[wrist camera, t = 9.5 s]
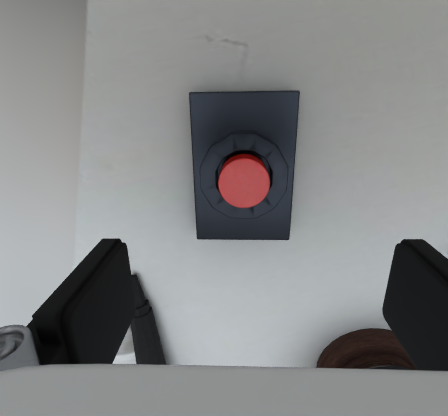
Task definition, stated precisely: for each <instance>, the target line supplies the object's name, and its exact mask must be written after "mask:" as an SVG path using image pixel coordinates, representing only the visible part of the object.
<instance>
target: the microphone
mask: <svg viewBox="0 0 448 416" xmlns="http://www.w3.org/2000/svg"><path fill="white" fill-rule="evenodd" d="M131 277H132V283H133V290H134V297H135V303H136V310H135V315H134V317H133V319H132V322H131V329H132V336H133V343H134V350H135V356H136V363H137V364H144V365H166V361H165V357H164V354H163V350H162V346H161V342H160V338H159V334H158V331H157V327H156V323H155V319H154V315H153V311H152V308H151V307H150V306H149V302H148V300H145V297H144V294H143V291H142V288H141V285H140V283H139V280H138V278H137V275H136V274H134V275H131Z"/></svg>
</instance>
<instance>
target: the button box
mask: <svg viewBox="0 0 448 416" xmlns="http://www.w3.org/2000/svg"><path fill="white" fill-rule="evenodd" d="M299 94H300V92H299V91H233V92H190V93H189V100H190V118H191V137H192V156H193V174H194V193H195V212H196V230H197V239H228V240H289V237H290V222H291V208H292V194H293V180H294V166H295V151H296V137H297V123H298V109H299ZM237 154H251V155H253V156H256V157H257V158H259V159H260V160H261V161H262V162H263V163H264V165H265V167H266V169H267V172H268V175H269V178H270V188H269V191H268V193H267V195H266V197H265V198H264V199H263V200H262V201H261V202H260V203H259V204H257V205H255V206H252V207H248V208H239V207H235V206H233V205H231V204H229V203H228V202H227V201H226V200H225V199H224V198H223V197H222V195H221V193H220V191H219V186H218V180H219V175H220V171H221V168H222V166H223V165H224V163H225V162H226V161H227V160H228V159H229V158H231V157H232V156H234V155H237Z"/></svg>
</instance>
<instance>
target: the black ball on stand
mask: <svg viewBox="0 0 448 416" xmlns="http://www.w3.org/2000/svg"><path fill="white" fill-rule="evenodd" d="M317 368H341V369H386V370H417V369H416V367H415V365H414V364H413V362H412V361H411V359H410V358H409V356H408V355H407V353H406V351H405V350H404V348H403V347H402V345H401V344H400V342H399V341H398V339H397V337H396V336H395V334H394V333H393V331H390V330H385V329H363V330H358V331H354V332H351V333H348V334H346V335H343V336H341V337H339V338H338V339H336V340H335V341H333V342H332V343H331V344H330V345H329V346H327V347H326V348H325V350H324V351H323V352H322V354H321V355H320V357H319V360H318V362H317Z"/></svg>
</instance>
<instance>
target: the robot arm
mask: <svg viewBox="0 0 448 416" xmlns="http://www.w3.org/2000/svg"><path fill="white" fill-rule="evenodd" d="M135 310H136V303H135V297H134V290H133V283H132V277H131V270H130V264H129V257H128V250H127V245H126V243H122V241H121V240H120V239H102V240H101V241H100V242H99V243H98V244H97V245H96V246H95V247H94V248H93V250H92V251H91V252H90V253H89V254H88V255H87V256H86V257H85V258H84V259H83V261H82V262H81V263H80V264H79V265H78V266H77V267H76V268H75V269H74V270H73V271H72V273H71V274H70V275H69V276H68V277H67V278H66V279H65V280H64V281H63V282H62V284H61V285H60V286H59V287H58V288H57V289H56V290H55V291H54V292H53V294H52V295H51V296H50V297H49V298H48V299H47V300H46V301H45V302H44V303H43V304H42V305H41V307H40V308H39V309H38V310H37V311H36V312H35V313H34V314H33V315H32V317H33V320H32V321H31V322H30V323H29V324H28V325H27V326H26V327H25V326H23V325H10V326H4V327H1V328H0V416H448V259H447V258H446V257H444V256H443V255H442V254H441V253H440V252H438V251H437V250H436V249H435V248H433V247H432V246H431V245H430V244H428V243H427V242H426V241H424V240H423V239H404V240H402V241H401V243H398V244H397V245H396V247H395V251H394V255H393V260H392V265H391V270H390V275H389V279H388V284H387V289H386V294H385V299H384V303H383V309H382V310H383V316H384V318H385V320H386V322H387V323H388V325H389V327H390V328H391V330H392V331H393V333H394V334H395V336H396V337H397V339H398V341H399V342H400V344H401V345H402V347H403V348H404V350H405V351H406V353H407V355H408V356H409V358H410V359H411V361H412V362H413V364H414V365H415V367H416V369H417V370H386V369H341V368H297V367H248V366H202V365H144V364H112V363H113V361H114V359H115V356H116V354H117V352H118V350H119V348H120V346H121V343H122V341H123V339H124V337H125V335H126V332H127V330H128V328H129V326H130V324H131V322H132V319H133V317H134V315H135Z"/></svg>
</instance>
